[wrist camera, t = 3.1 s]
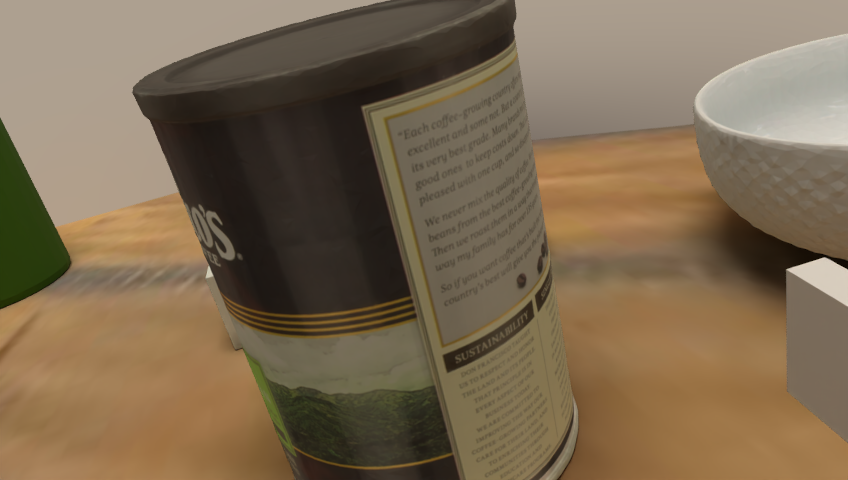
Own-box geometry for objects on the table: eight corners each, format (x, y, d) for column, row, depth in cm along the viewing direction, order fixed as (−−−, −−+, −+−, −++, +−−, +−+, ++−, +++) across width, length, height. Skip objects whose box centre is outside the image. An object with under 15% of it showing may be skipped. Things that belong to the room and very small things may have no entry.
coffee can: (305, 607, 19) (87, 119, 13) (289, 395, 28) (158, 58, 22) (643, 481, 20) (582, -15, 14) (519, 319, 29) (452, -19, 23)
